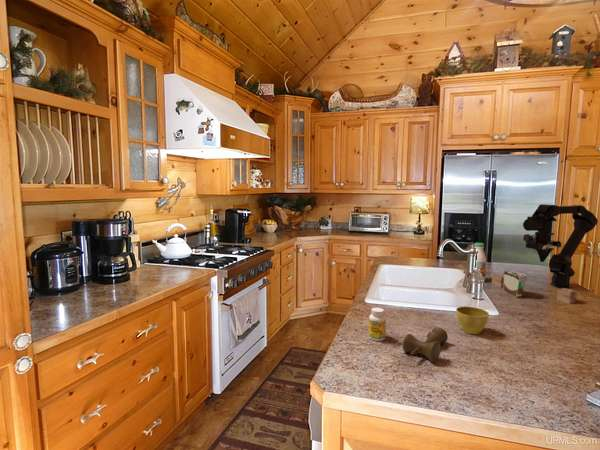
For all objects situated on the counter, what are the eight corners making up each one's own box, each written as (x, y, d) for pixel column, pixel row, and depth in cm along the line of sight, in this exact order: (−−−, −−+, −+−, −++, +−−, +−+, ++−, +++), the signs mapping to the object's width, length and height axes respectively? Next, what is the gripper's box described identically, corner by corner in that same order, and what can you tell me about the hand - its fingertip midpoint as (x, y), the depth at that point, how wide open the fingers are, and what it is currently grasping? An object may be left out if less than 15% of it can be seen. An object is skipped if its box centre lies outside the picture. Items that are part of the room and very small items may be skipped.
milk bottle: (469, 281, 183) (471, 243, 181) (468, 277, 190) (470, 241, 188) (485, 283, 180) (488, 244, 178) (484, 279, 187) (486, 242, 185)
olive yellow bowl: (461, 323, 128) (462, 304, 127) (491, 331, 120) (493, 311, 120) (450, 331, 120) (451, 311, 120) (481, 340, 113) (483, 319, 113)
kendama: (455, 348, 109) (427, 370, 95) (425, 339, 116) (395, 358, 102) (456, 329, 109) (427, 349, 94) (426, 321, 115) (395, 338, 101)
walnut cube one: (498, 283, 180) (499, 273, 179) (507, 286, 175) (508, 276, 174) (491, 284, 178) (492, 274, 177) (500, 287, 173) (501, 277, 172)
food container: (532, 299, 155) (533, 277, 154) (518, 299, 155) (520, 277, 154) (514, 290, 168) (515, 270, 166) (501, 290, 167) (503, 270, 166)
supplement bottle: (385, 335, 116) (386, 307, 115) (384, 342, 111) (385, 313, 110) (369, 333, 118) (370, 305, 117) (367, 340, 113) (368, 311, 112)
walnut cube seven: (563, 298, 156) (564, 287, 155) (575, 302, 152) (577, 290, 151) (556, 300, 154) (557, 289, 153) (569, 303, 149) (570, 292, 149)
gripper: (539, 227, 180) (537, 257, 182) (516, 229, 173) (513, 260, 174) (563, 230, 170) (560, 261, 172) (539, 232, 163) (536, 264, 164)
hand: (542, 261), depth 171 cm, fingers closed
